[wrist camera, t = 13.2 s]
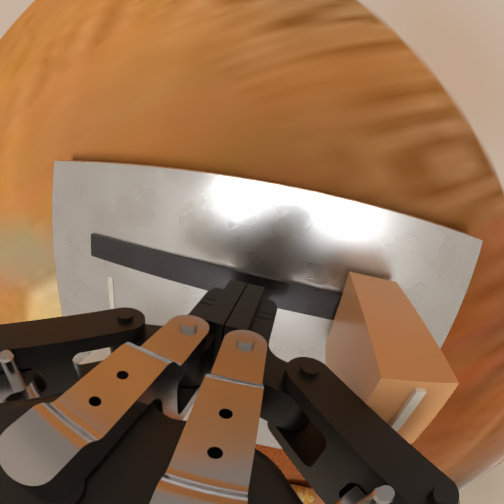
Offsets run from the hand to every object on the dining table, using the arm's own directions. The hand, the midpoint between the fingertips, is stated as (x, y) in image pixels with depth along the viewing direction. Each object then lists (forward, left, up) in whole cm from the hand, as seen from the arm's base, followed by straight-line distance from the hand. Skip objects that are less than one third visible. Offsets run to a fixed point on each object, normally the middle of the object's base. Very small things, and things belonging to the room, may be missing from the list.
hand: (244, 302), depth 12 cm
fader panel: (+2, +4, -3) cm, 5 cm away
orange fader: (-5, 0, -1) cm, 5 cm away
